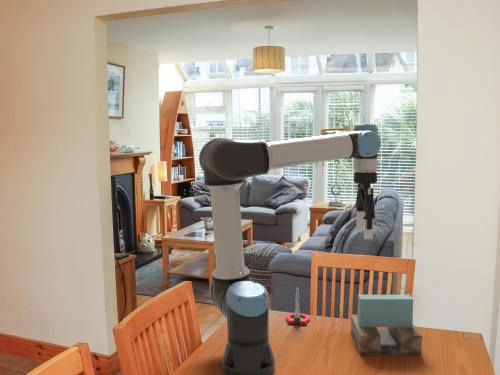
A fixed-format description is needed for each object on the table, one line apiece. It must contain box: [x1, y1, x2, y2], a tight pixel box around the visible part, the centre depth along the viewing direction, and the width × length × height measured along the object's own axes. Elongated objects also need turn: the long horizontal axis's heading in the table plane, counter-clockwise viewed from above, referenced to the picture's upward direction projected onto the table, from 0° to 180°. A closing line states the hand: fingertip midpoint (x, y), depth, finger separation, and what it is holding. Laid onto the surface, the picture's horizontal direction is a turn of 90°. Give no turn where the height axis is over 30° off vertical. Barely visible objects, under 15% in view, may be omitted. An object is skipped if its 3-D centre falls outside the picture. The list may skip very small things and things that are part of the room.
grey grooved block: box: [350, 314, 423, 356], centre depth 150 cm, size 18×16×6 cm
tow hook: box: [285, 287, 311, 326], centre depth 169 cm, size 8×13×9 cm
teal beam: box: [357, 294, 414, 328], centre depth 149 cm, size 16×4×9 cm, turn 88°
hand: (364, 234), depth 161 cm, fingers open, 13 cm apart
